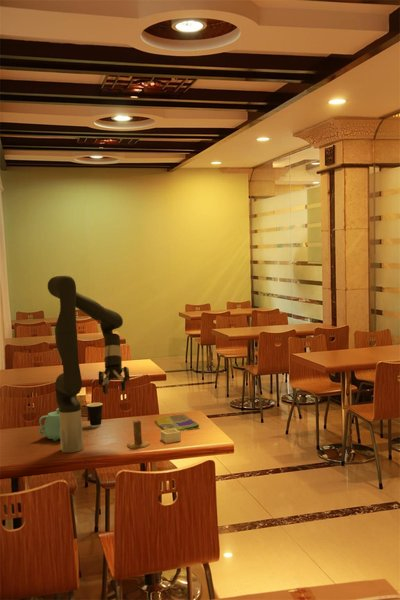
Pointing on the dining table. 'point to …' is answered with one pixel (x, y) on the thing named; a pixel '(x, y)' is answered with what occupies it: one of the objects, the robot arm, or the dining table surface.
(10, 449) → the dining table surface
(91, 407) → the dixie cup
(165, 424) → the dish towel
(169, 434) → the beige square base
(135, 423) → the brown post on base
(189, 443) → the dining table surface
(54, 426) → the decorative pot
